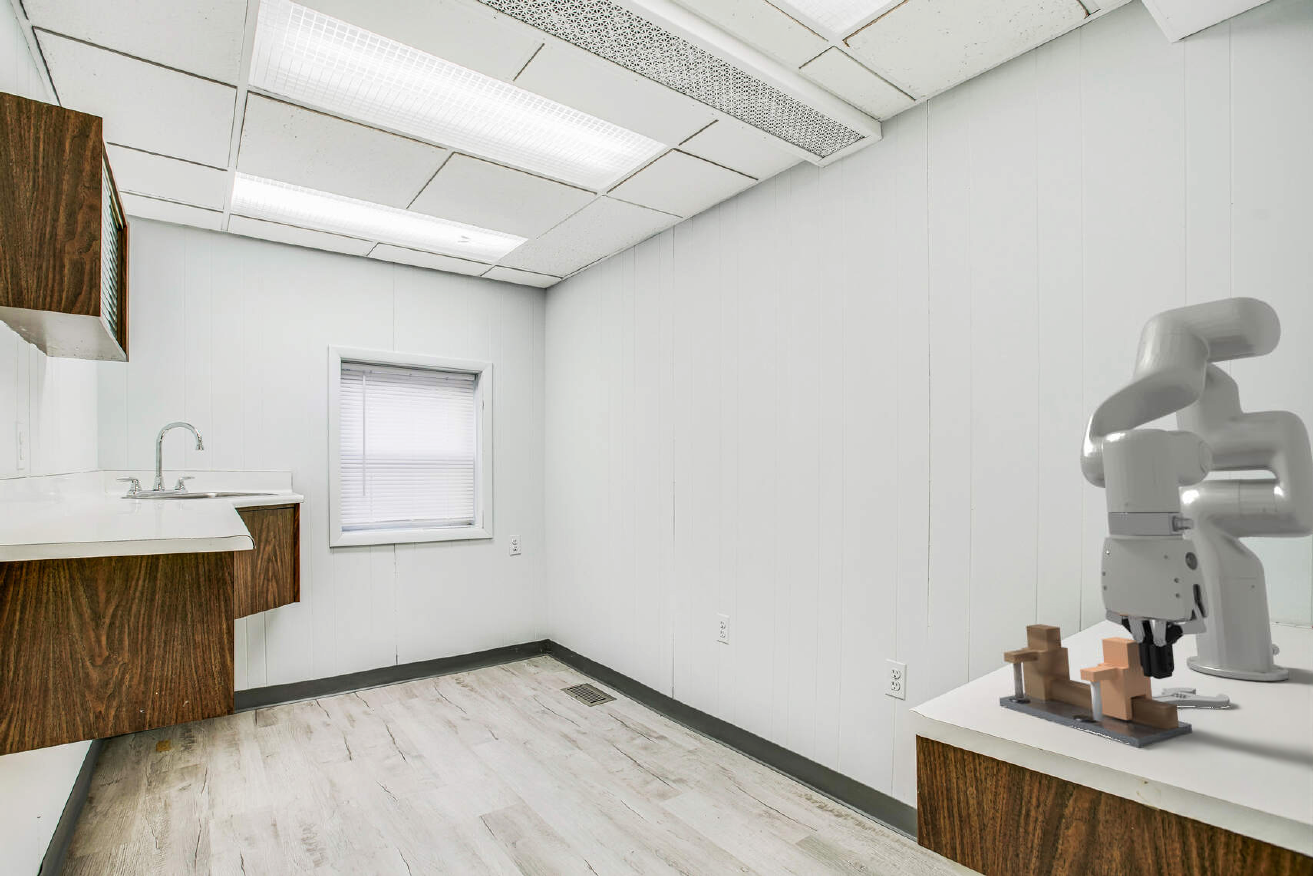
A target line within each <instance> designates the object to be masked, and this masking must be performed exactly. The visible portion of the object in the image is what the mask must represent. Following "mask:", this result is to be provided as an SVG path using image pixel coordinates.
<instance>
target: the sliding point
mask: <svg viewBox="0 0 1313 876" xmlns="http://www.w3.org/2000/svg"><path fill="white" fill-rule="evenodd" d="M1101 642H1102V655H1103V656H1102V657H1103V662H1102V663H1097V666H1096V665H1095V666H1091V667H1090V666H1089V667H1086V668H1080V670H1079V672H1080V680H1082V681H1088V682H1090V685H1091V694H1092V707H1093V719H1094V720H1096V721H1103V714H1105V715H1109V716H1113V717H1116V718H1120V719H1124V720H1130V719H1132V708H1131V697H1135V696H1140V697H1144V698H1149V699H1152V696H1153V694H1152V693H1153V691H1152V681H1151V677H1146V676H1144V674H1143V667H1142V666H1141V665H1140V655H1139V643H1137V642H1136V641H1134V639H1129V638H1125V637H1120V636H1113V637H1107V638H1102V639H1101Z"/></svg>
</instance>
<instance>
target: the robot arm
mask: <svg viewBox="0 0 1313 876" xmlns="http://www.w3.org/2000/svg"><path fill="white" fill-rule="evenodd" d="M1281 329H1282V328H1281V323H1280V319H1279V316H1278V315H1277V312H1276V311H1275V308H1273V307H1272V306H1271V305H1270V304H1269V303H1267V302H1266V301H1263V300H1260V299H1258V298H1254V297H1247V296H1246V297H1245V296H1241V297H1240V296H1239V297H1238V296H1237V297H1228V298H1225V299H1224V298H1223V299H1217V300H1214V301H1209V302H1202V303H1197V304H1193V305H1192V304H1191V305H1188V306H1186V305H1185V306H1182V307H1177V308H1176V307H1175V308H1172V309H1169V310H1164V311H1162V312H1159V313H1157V314H1156V315H1154V316H1152V317H1150V319H1148V320H1147V321H1146V322H1145V324H1144V326H1143V327H1142V329H1141V332H1140V337H1139V343H1138V346H1137V347H1138V349H1137V353H1136V359H1135V364H1134V370H1133V373H1132V378H1131V379H1130V380H1129V381H1127V382H1126V383H1125V384H1123V385H1122V386H1120V387H1119V388H1117V389H1116V390H1115V391H1114V392H1112V393H1111V394H1110V395H1109V396H1107V397H1106V398H1105V399H1104V400H1103V401H1102V402H1100V404H1099V405H1097V406H1096V408H1095V409H1094V410H1092V412H1091V414H1090V416H1089V418H1088V420H1087V422H1086V426H1085V430H1084V434H1083V438H1082V442H1081V448H1080V457H1079V459H1080V461H1079V462H1080V469H1081V473H1082V475H1083V477H1084V478H1085V480H1086V481H1087V482H1088V483H1090V484H1091V485H1093V486H1095V487H1097V488H1102V489H1105V498H1106V500H1105V501H1106V511H1107V523H1108V535H1109V536H1106V537H1104V540H1103V546H1102V552H1101V562H1100V564H1101V565H1100V566H1101V567H1100V589H1101V600H1102V603H1103V607H1104V609H1105V610H1106V612H1105V619H1106V620H1107V621H1108V622H1111V623H1113V624H1116V625H1119V626H1122V627H1124V629H1125V630H1127V632H1128V633H1130V634H1131V636H1132V638H1133V639H1132V640H1134V641H1136V642H1137V643H1139V655H1140V665H1141V666H1142V667H1143V674H1144V676H1146V677H1150V678H1151V677H1152V678H1153V679H1156V680H1163V679H1166V678H1170V677H1172V676H1173V672H1174V671H1175V660H1174V649H1173V645H1175V644H1177V642H1178V640H1180V639H1181V638H1182V637H1184V636H1187V635H1195V642H1196V643H1195V644H1196V652H1197V653H1196V654H1197V655H1195V656H1190V657H1188V658H1186V666H1187V667H1188V668H1189V669H1192V670H1193V671H1197V672H1200V673H1204V674H1206V675H1213V676H1218V677H1224V678H1230V679H1235V680H1236V679H1238V680H1247V681H1259V682H1261V681H1262V682H1263V681H1264V682H1272V681H1273V682H1275V681H1283V680H1287V679H1288V678H1289V677H1290V675H1289V670H1288V669H1287V668H1285V667H1283V666H1282V665H1281V666H1280V665H1279V664H1275V659H1274V656H1276V655H1279V654H1280V652H1281V651H1280V647H1279V646H1278V645H1276V644H1274V643H1273V641H1272V632H1271V622H1270V615H1269V613H1270V612H1269V604H1268V596H1267V595H1268V594H1267V585H1266V577H1265V575H1266V574H1265V569H1264V566H1263V563H1262V561H1261V560H1260V558H1259V557H1258V556H1257V555H1256V553H1254V551H1252V550H1251V549H1250V548H1249V547H1247V546H1246V545H1245V544H1244V543H1243V541H1240V539H1241V538H1272V539H1273V538H1276V539H1277V538H1279V539H1284V538H1285V539H1289V538H1290V539H1293V538H1295V539H1296V538H1306V537H1310V536H1312V535H1313V455H1312V454H1313V453H1312V447H1311V443H1310V442H1311V441H1310V437H1309V433H1308V430H1307V427H1306V424H1305V423H1304V422H1303V420H1302V419H1301V417H1300V416H1299V415H1297V414H1296V413H1293V412H1291V411H1286V410H1263V411H1253V412H1243V410H1242V407H1241V400H1240V399H1241V398H1240V394H1239V386H1238V384H1237V382H1236V381H1235V379H1234V378H1233V377H1232V376H1231V375H1230V374H1228V373H1227V372H1226V371H1225V370H1223V369H1222V368H1220V367H1219V366H1218V365H1216V364H1214V363H1218V362H1219V363H1220V362H1227V361H1233V360H1234V361H1235V360H1240V359H1248V358H1257V357H1262V356H1263V357H1264V356H1267V355H1269V354H1271V353H1272V352H1273V351H1275V349H1277V347H1278V345H1279V343H1280V338H1281V332H1282V331H1281ZM1173 413H1175V416H1176V425H1177V429H1176V430H1165V429H1160V428H1138V427H1140V426H1142V425H1144V424H1147V423H1150V422H1153V421H1156V420H1160V419H1161V418H1164V417H1166V416H1168V415H1172V414H1173ZM1136 428H1138V429H1136ZM1239 471H1240V472H1244V471H1268V472H1270V473H1272V474H1273V476H1274V477H1273V478H1272V477H1271V478H1270V477H1268V478H1228V479H1225V478H1224V479H1207V480H1206V478H1207V477H1208V475H1209V473H1210V472H1211V473H1212V472H1219V473H1220V472H1239ZM1180 487H1181V488H1180ZM1153 621H1154V625H1153Z"/></svg>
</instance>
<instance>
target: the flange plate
mask: <svg viewBox="0 0 1313 876" xmlns="http://www.w3.org/2000/svg"><path fill="white" fill-rule="evenodd" d="M1023 696H1024V698H1022V699H1020V698H1016V697H1015V694H1013V695H1008V696H1004V697H999V698H998V699H999V706H1000V705H1002V706H1001V707H1003V706H1006V707H1005V708H1007V707H1008V708H1007V709H1009V710H1013V711H1016V710H1017V712H1020V713H1024V714H1026V715H1028V716H1029V715H1030V716H1033V717H1036V718H1040V719H1044V720H1046V721H1049V722H1054V723H1056V724H1059V723H1060V724H1059V725H1062V724H1063V726H1067V727H1069V726H1073V727H1076V728H1080V729H1083V730H1089V731H1092V732H1095V733H1100V734H1102V735H1105V736H1109V737H1111V738H1113V739H1117V740H1120V741H1122V742H1124V743H1123V744H1125V743H1129V744H1130V745H1129V746H1131V745H1132V746H1131V747H1135V746H1136V747H1135V748H1139V749H1140V748H1144V747H1147V746H1150V745H1154V744H1157V743H1160V742H1165V741H1168V740H1171V739H1174V738H1178V737H1182V736H1187V735H1189V734H1192V733H1193V726H1192V724H1191V723H1189V722H1185V721H1181V720H1178V724H1179V726H1178V727H1175V728H1171V729H1167V730H1166V729H1163V728H1159V727H1155V726H1152V725H1148V724H1144V723H1140V722H1137V721H1133V720H1124V719H1120V718H1116V717H1113V716H1109V715H1105V714H1103V721H1096V720H1094V719H1093V709H1089V708H1085V707H1082V706H1078V705H1074V704H1071V703H1067V702H1063V701H1060V700H1056V699H1048V700H1043V699H1039V698H1035V697H1032V696H1028V695H1025V692H1023Z"/></svg>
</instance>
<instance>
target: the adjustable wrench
mask: <svg viewBox="0 0 1313 876" xmlns="http://www.w3.org/2000/svg"><path fill="white" fill-rule="evenodd" d="M1152 699H1153V700H1157V701H1161V702H1165V703H1170V704H1174V705H1177V706H1195V707H1211V708H1212V707H1213V708H1221V707H1227V706H1230V707H1231V702H1230V696H1228V695H1226V694H1224V693H1219V694H1218V695H1216V696H1210V695H1209V696H1208V695H1200V694H1197V688H1194V687H1169V688H1165V687H1164V688H1163V691H1161V694H1160V695H1152Z"/></svg>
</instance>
